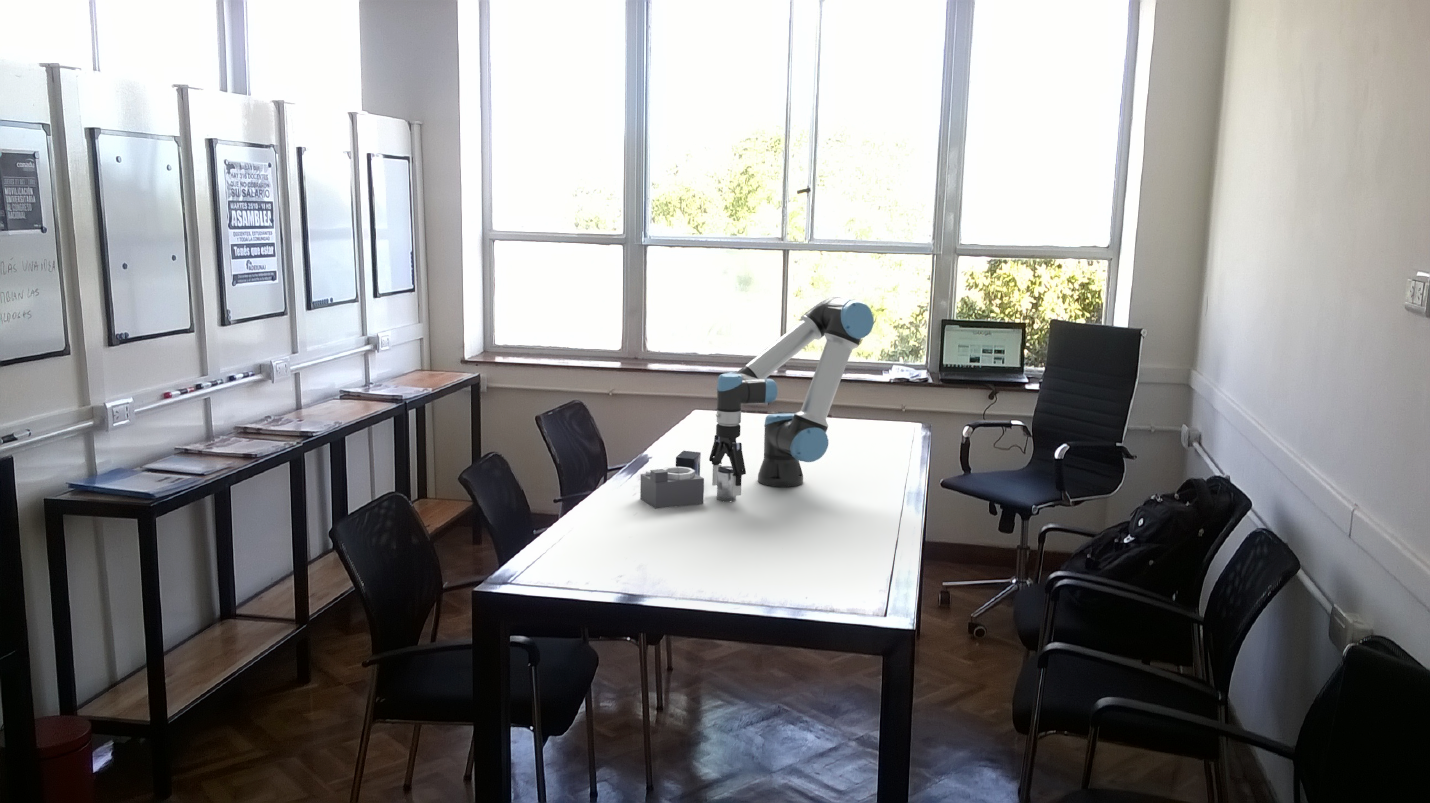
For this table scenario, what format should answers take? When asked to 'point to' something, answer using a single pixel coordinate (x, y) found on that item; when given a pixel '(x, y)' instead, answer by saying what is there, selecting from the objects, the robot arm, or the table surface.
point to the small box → (689, 460)
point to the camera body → (671, 487)
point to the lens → (725, 484)
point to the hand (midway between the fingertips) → (726, 490)
